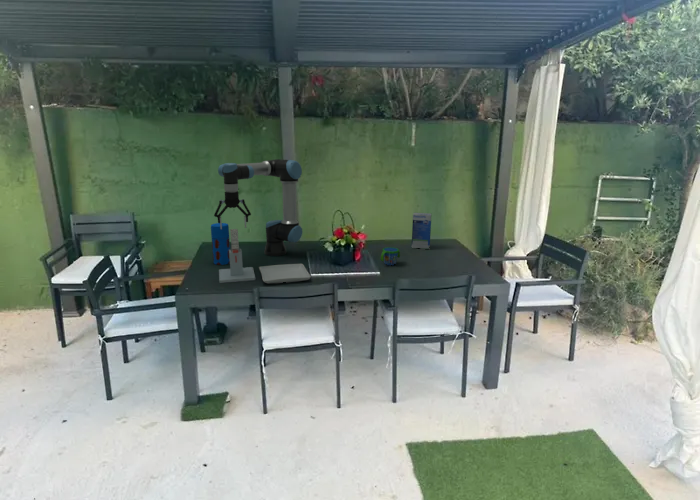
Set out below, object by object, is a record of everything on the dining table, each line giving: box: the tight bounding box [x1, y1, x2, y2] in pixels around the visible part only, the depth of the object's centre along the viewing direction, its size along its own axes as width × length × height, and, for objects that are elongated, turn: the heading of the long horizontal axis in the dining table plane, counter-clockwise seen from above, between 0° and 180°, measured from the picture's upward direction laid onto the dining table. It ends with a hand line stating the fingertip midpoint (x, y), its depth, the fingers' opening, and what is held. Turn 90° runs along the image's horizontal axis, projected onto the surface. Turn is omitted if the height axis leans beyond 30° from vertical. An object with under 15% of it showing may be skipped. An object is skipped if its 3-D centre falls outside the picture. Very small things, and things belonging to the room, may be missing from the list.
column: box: [229, 228, 240, 252], centre depth 257 cm, size 4×4×26 cm
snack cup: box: [380, 246, 401, 266], centre depth 286 cm, size 16×10×10 cm
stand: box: [218, 248, 256, 284], centre depth 259 cm, size 20×20×16 cm
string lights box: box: [411, 212, 432, 249], centre depth 322 cm, size 13×8×26 cm, turn 77°
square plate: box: [258, 263, 311, 284], centre depth 261 cm, size 27×27×4 cm
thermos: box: [210, 222, 231, 266], centre depth 282 cm, size 11×11×25 cm
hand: (233, 228), depth 253 cm, fingers open, 13 cm apart
